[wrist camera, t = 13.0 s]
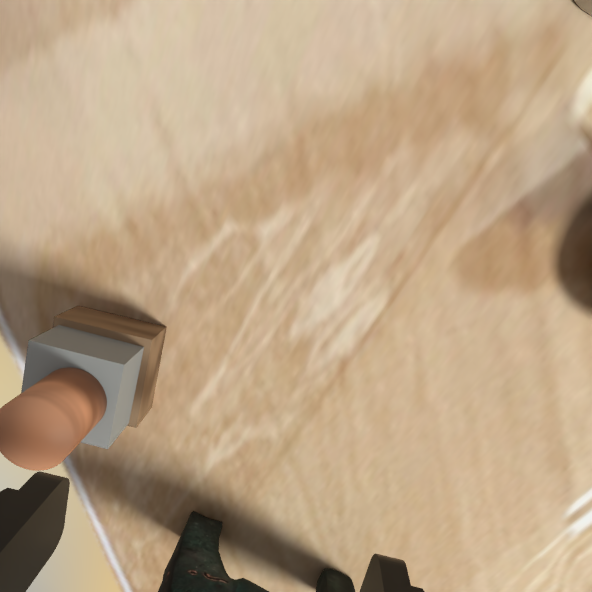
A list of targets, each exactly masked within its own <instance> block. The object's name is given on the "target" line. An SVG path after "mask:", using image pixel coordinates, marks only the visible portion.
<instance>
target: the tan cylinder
mask: <svg viewBox="0 0 592 592" xmlns="http://www.w3.org/2000/svg"><path fill="white" fill-rule="evenodd" d="M106 407H107V398H106V394H105V391H104V389H103V387H102V385H101V384H100V382H99V381H98V380H97V379H96V378H95V377H94V376H92V375H91V374H90V373H88V372H86V371H84V370H81V369H78V368H71V367H67V368H60V369H57V370H55V371H53V372H51V373H50V374H49V375H47V376H46V377H44V378H43V379H41V380H40V381H38V382H37V383H36V384H34V385H33V386H31V387H30V388H28V389H27V390H25V391H24V392H23V393H21V394H20V395H19V396H17V397H15V398H14V399H12V400H11V401H10V402H8V403H7V404H5V405H4V406H3V407H2V408H1V409H0V452H1V453H2V454H3V455H4V456H5V457H6V458H7V459H8V460H9V461H11V462H12V463H14V464H15V465H17V466H20V467H22V468H25V469H29V470H47V469H50V468H53V467H55V466H57V465H58V464H60V463H61V462H62V461H63V460H64V459H65V458H66V457H67V456H68V455H69V454H70V453H71V452H72V451H73V449H74V448H75V447H76V446H77V445H78V444H79V443H80V442H81V441H82V440H83V439H84V438H85V436H86V435H87V434H88V433H89V432H90V431H91V430H92V429H93V428H94V427H95V426H96V425H97V423H98V422H99V421H100V420H101V419H102V418H103V416H104V414H105V411H106Z"/></svg>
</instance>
